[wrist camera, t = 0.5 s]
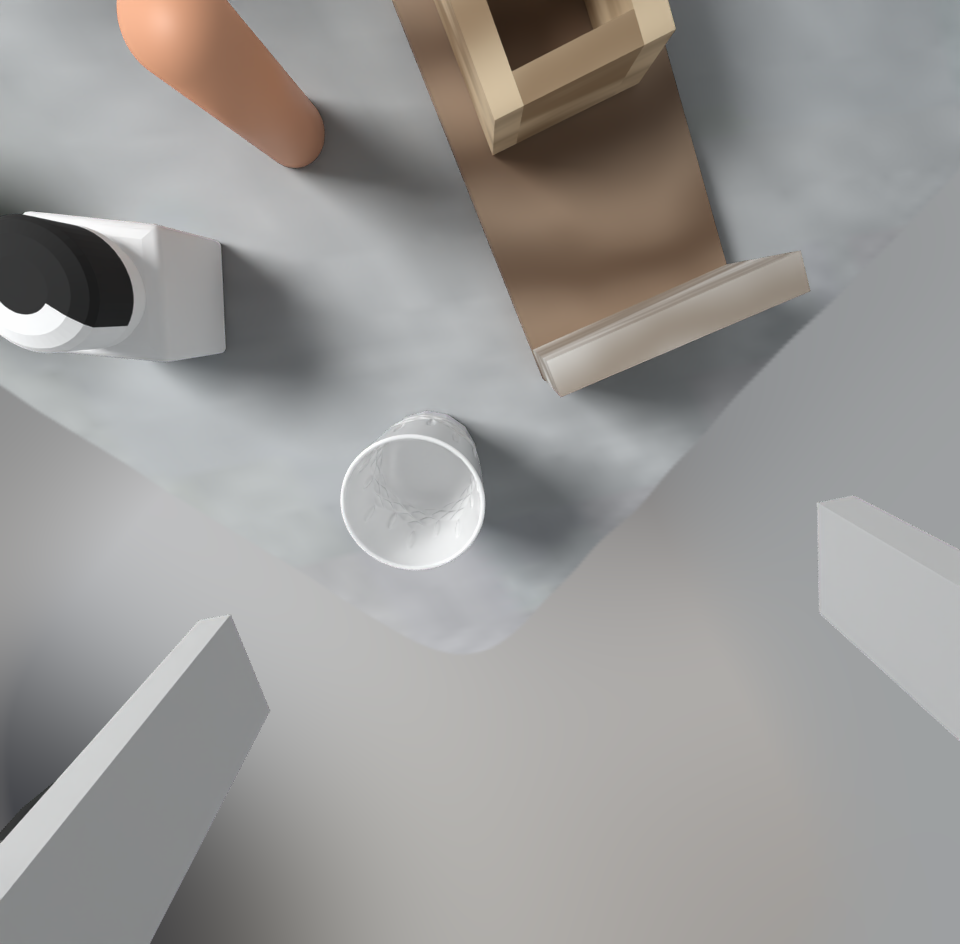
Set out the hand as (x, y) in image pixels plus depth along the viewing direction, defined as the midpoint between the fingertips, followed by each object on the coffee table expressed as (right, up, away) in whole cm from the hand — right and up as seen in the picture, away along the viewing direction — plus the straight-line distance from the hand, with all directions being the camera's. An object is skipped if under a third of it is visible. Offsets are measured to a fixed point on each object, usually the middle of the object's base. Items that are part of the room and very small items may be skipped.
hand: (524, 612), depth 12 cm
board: (+4, +23, +20) cm, 31 cm away
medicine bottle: (-22, +15, +23) cm, 35 cm away
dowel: (-13, +24, +20) cm, 34 cm away
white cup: (-5, +4, +27) cm, 27 cm away
